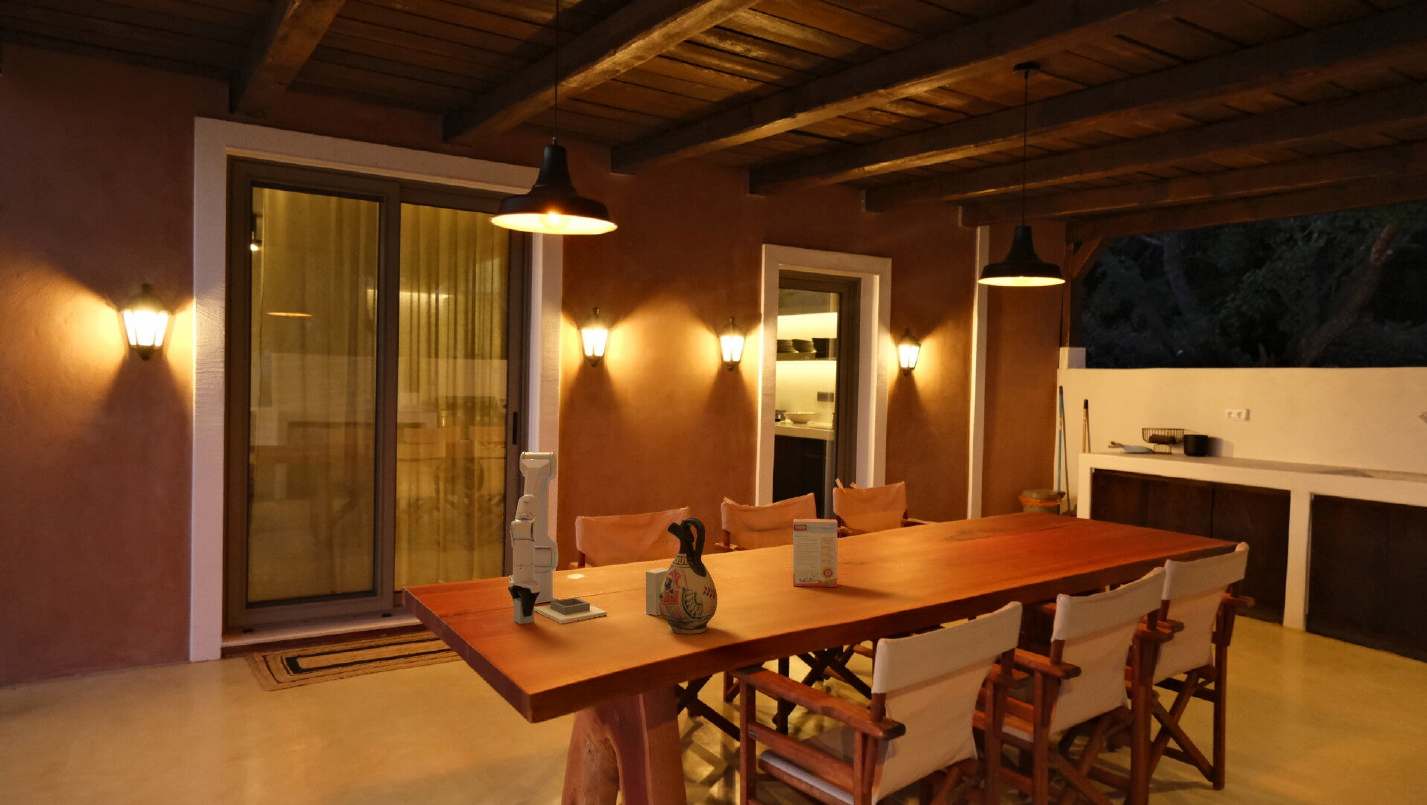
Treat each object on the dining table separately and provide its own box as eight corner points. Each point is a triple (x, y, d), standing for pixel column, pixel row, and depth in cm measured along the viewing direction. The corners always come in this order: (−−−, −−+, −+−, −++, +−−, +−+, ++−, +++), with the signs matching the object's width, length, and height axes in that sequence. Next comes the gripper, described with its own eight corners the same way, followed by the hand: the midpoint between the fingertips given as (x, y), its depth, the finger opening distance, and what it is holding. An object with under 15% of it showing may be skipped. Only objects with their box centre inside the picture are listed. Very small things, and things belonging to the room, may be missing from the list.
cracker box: (836, 583, 286) (837, 518, 285) (837, 588, 280) (838, 521, 279) (792, 582, 287) (793, 517, 286) (792, 586, 281) (793, 520, 280)
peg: (513, 620, 239) (513, 598, 239) (527, 618, 242) (527, 596, 241) (520, 624, 236) (520, 601, 236) (533, 621, 238) (534, 599, 238)
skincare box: (659, 609, 252) (660, 567, 252) (670, 612, 250) (671, 569, 249) (644, 613, 248) (645, 570, 247) (656, 616, 245) (656, 573, 244)
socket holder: (534, 610, 249) (534, 600, 249) (578, 603, 258) (578, 593, 258) (561, 623, 237) (561, 612, 237) (606, 615, 245) (606, 604, 245)
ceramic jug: (645, 629, 232) (646, 515, 231) (689, 618, 243) (690, 509, 242) (690, 643, 220) (691, 523, 219) (733, 631, 231) (734, 516, 230)
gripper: (498, 561, 241) (498, 610, 242) (522, 570, 230) (522, 622, 230) (522, 557, 246) (522, 606, 246) (546, 567, 234) (546, 618, 235)
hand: (523, 614), depth 239 cm, fingers closed on peg, 4 cm apart
